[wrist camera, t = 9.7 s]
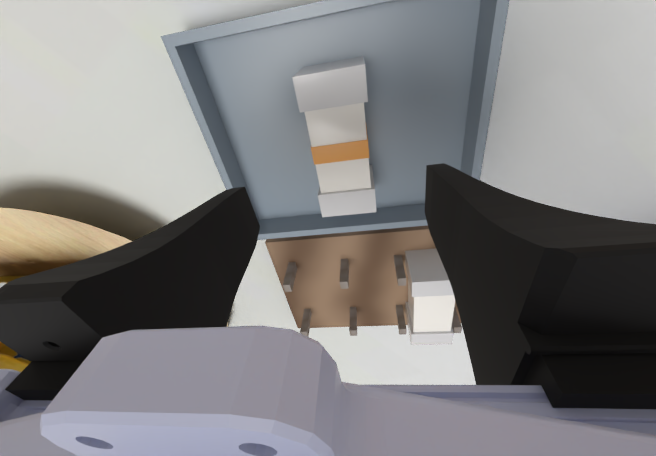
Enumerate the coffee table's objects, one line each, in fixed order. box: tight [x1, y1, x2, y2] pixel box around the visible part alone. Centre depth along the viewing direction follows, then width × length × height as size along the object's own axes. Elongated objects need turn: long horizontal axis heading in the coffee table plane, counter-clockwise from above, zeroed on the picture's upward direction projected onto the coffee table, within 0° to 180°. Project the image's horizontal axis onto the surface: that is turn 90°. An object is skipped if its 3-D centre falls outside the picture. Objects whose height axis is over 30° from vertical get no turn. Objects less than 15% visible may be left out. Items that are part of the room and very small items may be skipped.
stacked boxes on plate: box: [0, 208, 228, 372], centre depth 23 cm, size 25×25×17 cm
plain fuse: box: [405, 249, 455, 345], centre depth 23 cm, size 3×8×3 cm, turn 9°
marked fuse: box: [292, 56, 377, 217], centre depth 17 cm, size 3×8×3 cm, turn 10°
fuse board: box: [265, 225, 462, 337], centre depth 25 cm, size 17×12×4 cm
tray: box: [161, 0, 509, 240], centre depth 17 cm, size 16×13×2 cm
